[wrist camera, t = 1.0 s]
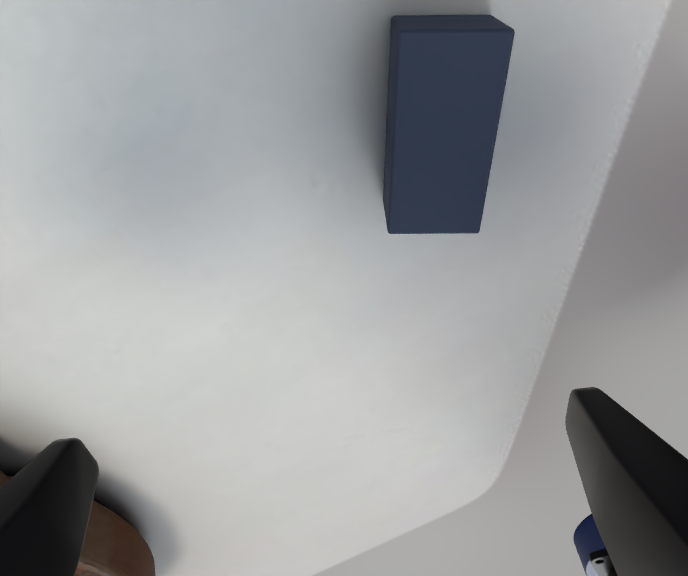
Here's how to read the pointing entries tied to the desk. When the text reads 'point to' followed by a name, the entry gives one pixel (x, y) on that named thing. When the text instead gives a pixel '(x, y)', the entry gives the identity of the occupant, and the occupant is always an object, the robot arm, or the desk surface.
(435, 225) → the eraser
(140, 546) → the dish
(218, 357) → the desk surface
